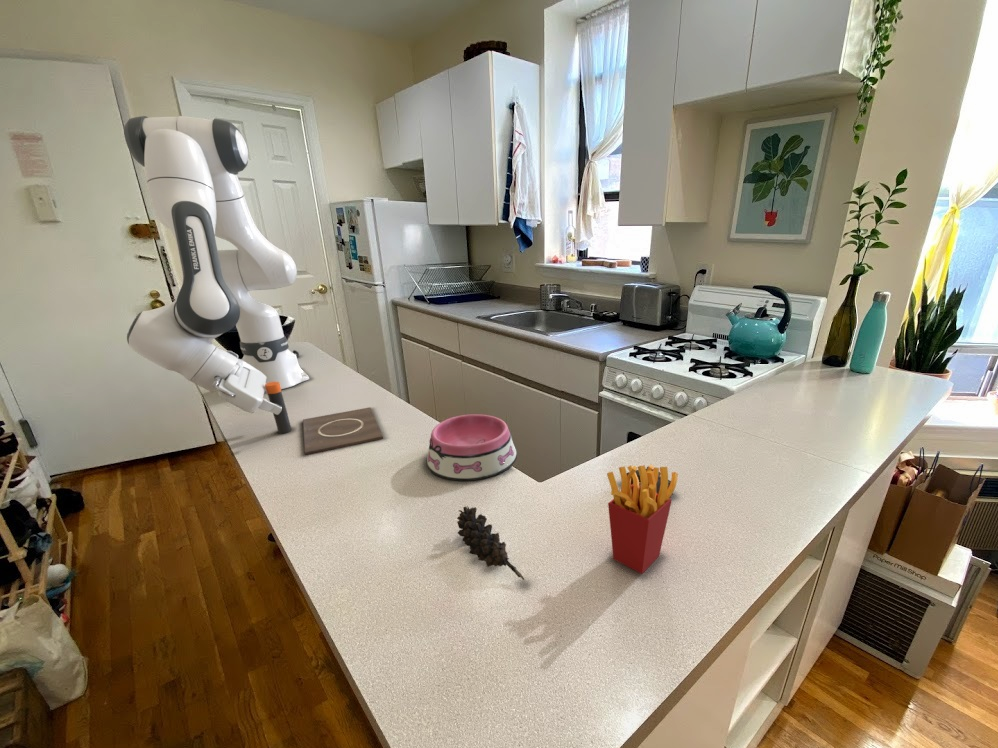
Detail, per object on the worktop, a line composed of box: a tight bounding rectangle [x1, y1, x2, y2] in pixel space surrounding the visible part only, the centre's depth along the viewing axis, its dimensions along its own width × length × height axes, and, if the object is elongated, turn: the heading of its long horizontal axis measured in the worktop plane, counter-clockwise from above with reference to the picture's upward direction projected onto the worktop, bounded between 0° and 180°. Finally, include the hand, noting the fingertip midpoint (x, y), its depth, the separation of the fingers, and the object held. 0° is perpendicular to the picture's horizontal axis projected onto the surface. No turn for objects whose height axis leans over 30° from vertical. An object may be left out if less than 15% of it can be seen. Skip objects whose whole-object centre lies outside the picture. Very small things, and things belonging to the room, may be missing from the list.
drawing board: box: [302, 406, 384, 456], centre depth 110 cm, size 20×16×1 cm
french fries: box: [606, 464, 678, 575], centre depth 66 cm, size 9×8×15 cm
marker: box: [265, 382, 293, 434], centre depth 108 cm, size 3×3×12 cm
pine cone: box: [456, 505, 525, 581], centre depth 67 cm, size 18×5×5 cm, turn 34°
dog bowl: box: [426, 413, 518, 482], centre depth 95 cm, size 18×19×7 cm
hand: (280, 404), depth 108 cm, fingers open, 8 cm apart
